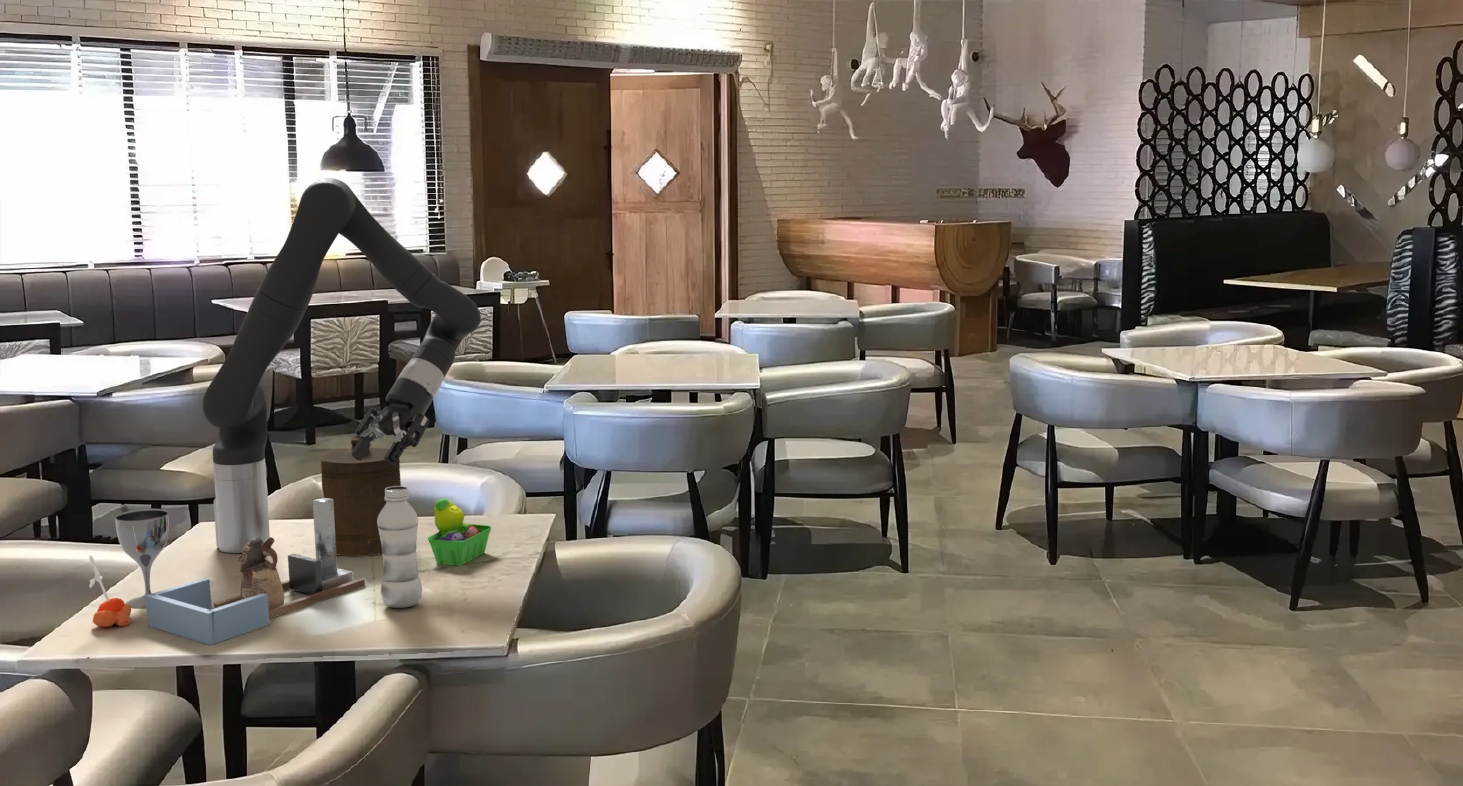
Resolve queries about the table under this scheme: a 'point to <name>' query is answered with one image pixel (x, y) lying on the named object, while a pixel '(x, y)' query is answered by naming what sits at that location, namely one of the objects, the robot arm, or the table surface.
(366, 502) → the wooden container
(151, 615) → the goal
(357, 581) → the lane rails
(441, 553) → the fruit basket
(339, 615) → the table surface
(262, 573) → the figurine
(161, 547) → the wine glass
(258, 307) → the robot arm
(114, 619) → the orange lumpy food
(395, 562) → the plastic bottle
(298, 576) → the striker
